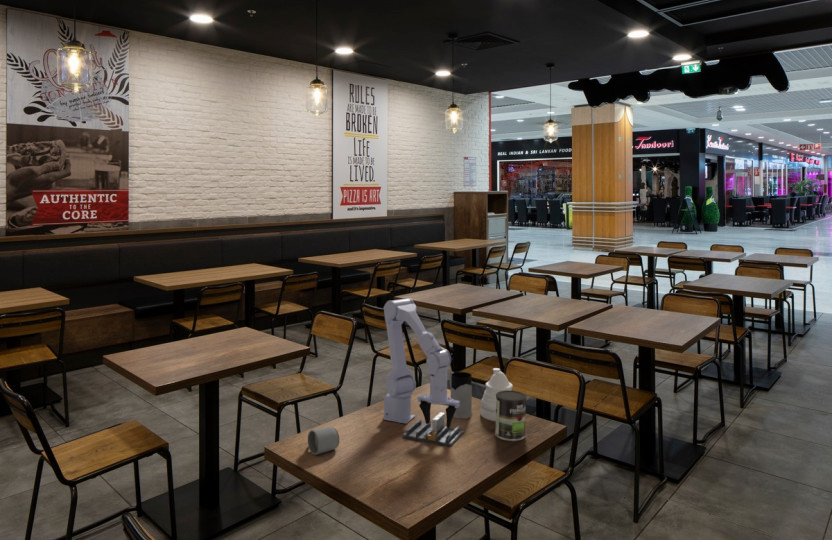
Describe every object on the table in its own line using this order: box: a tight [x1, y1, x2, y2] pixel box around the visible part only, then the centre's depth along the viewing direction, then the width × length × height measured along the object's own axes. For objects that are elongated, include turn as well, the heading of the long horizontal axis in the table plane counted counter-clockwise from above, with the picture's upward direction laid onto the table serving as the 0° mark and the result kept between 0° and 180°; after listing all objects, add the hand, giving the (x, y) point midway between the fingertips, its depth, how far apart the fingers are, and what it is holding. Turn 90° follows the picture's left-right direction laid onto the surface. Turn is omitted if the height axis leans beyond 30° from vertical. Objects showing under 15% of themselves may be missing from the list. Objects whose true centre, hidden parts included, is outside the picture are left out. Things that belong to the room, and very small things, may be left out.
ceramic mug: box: [307, 426, 341, 456], centre depth 184 cm, size 11×8×8 cm
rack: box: [402, 418, 464, 447], centre depth 195 cm, size 17×12×2 cm
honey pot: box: [480, 367, 514, 422], centre depth 213 cm, size 13×13×18 cm
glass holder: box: [449, 371, 473, 419], centre depth 217 cm, size 9×14×15 cm, turn 21°
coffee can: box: [494, 390, 527, 442], centre depth 195 cm, size 10×10×14 cm
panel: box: [431, 411, 446, 437], centre depth 194 cm, size 2×7×6 cm, turn 156°
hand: (438, 424), depth 194 cm, fingers open, 7 cm apart
